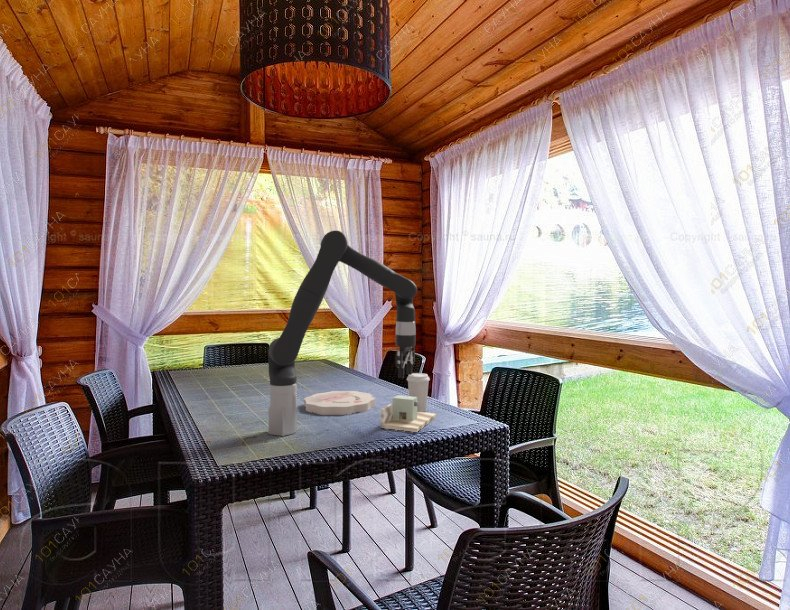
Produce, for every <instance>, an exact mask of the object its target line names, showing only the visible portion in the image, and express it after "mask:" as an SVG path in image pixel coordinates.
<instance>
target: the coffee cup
mask: <svg viewBox="0 0 790 610" xmlns="http://www.w3.org/2000/svg"><path fill="white" fill-rule="evenodd" d="M430 380H431V378H430V376H428V374H427V373H421V372H412V374H411V375H408V376H407V378H406V381H407V385H408V386H407V387H408V396H412V397H417V401H418V406H417V412H424V413H426V412H427V404H428V392H429V381H430ZM425 411H426V412H425Z"/></svg>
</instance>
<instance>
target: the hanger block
mask: <svg viewBox="0 0 790 610" xmlns="http://www.w3.org/2000/svg"><path fill="white" fill-rule="evenodd" d="M392 403H393V419H397V420H399V419H401V418H402V413H403V412H406V421H414V420H415V419H416V418H417V406H418V401H417V397H412V396H409V395H408V396H407V395H399V394H397V395H395V396H394V397H393V398H392Z"/></svg>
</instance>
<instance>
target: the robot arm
mask: <svg viewBox="0 0 790 610" xmlns="http://www.w3.org/2000/svg"><path fill="white" fill-rule="evenodd" d="M348 243H349V241H348V237H347V236H346V235H345V234H344V232H342V231H339V230H331V231H328V232H327V233H325V234H324V236H323V237H322V239H321V242H320V248H319V250H318V253H317V256H316V258H315V261H314V263H313V264H312V266H311V268H310V269H309V271H308V272H307V274H306V275H305V276H304V278H303V280H302V282H301V284H300V286H299V288H298V289H297V291H296V293H295V296H294V298H293V301H292V304H291V307H290V311H289V315H288V320H287V323H286V325H285V327H284V329H283V331H282V333H281V334H280V335H279V337H277V338H275V339H274V340H272V341H271V342H270V344H269V347H268V355H267V356H268V359H267V360H268V362H267V363H268V377H269V407H268V408H267V409H268V435H272V436H273V435H274V436H280V437H284V436H289V435H293V434H296V433H297V432H298V420H297V419H298V418H297V417H298V416H297V415H298V414H297V413H298V412H297V411H298V410H297V409H298V407H297V405H298V402H297V401H298V399H297V398H298V397H297V395H298V393H297V392H298V391H297V390H298V389H297V388H298V387H297V383H298V382H297V381H298V380H297V374H296V366H295V365H296V362H295V361H296V360H297V358H298V355H299V352H300V350H301V346H302V344H303V342H304V341H303V340H304V338H305V335H306V333H307V331H308V329H309V327H310V325H311V324H312V322H313V320H314V318H315V316H316V314H317V312H318V311H319V308H320V306H321V304H322V302H323V300H324V298H325V295H326V293H327V290H328V288H329V284H330V282H331V279H332V276H333V274H334V270H335V269H336V267H337V265H338V264H339V262H340V263H342V264H344V265H346V266H349V267H351V268H352V269H354V270H355V271H357V272H359V273H361V275H364V276H365V277H367V278H369V279H370V280H371V281H373V282H375V283H376V284H378V285H380V286H381V287H384V288H386V289H389V290H390V291H392V292H393V293H394V294H395V295H394V296H395V305H396V322H395V323H396V324H395V346H397V347H399V349H398V350H395V358H394V359H395V360H394V366H395V368H397V378H398V379H404V378H405V374H406V375H408V376H409V375H411V374H412V373H413V365H414V363H415V362H416V352H415V351H416V350H415V349H416V348H415V346H416V345H417V344H416V341H417V340H416V335H417V332H416V331H417V329H416V310H415V307H414V298H415V297H416V296H417V293H418V288H417V285H416V284H415V282H413V281H412V280H411V279H409V278H407V277H405V276H403V275H401V274H399V273H397V272H396V271H394V270H392V269H391V268H390V267H388V266H386V265H385V264H383V263H381V262H380V261H378V260H376V259H373V258H371V257H369V256H366V255H364V254H363V253H361V252H358V251H357V250H355V248H353V247H351V246H350V245H349V244H348Z"/></svg>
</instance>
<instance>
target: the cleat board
mask: <svg viewBox="0 0 790 610" xmlns="http://www.w3.org/2000/svg"><path fill="white" fill-rule="evenodd" d="M435 417H436V418H437V413H435V412H434V413H433V412H417V418H416V419H415V420H414V421H406V412H403V413H402V418H401V419H399V420H397V419H393V402H391V403H390V404H387V405H386V406H384V407H383V408H380V429H381V428H386V429H385V430H388V429H395V430H394V431H397V430H404V431H403V432H405V431H412V432H411V433H413V432H418V431H419V430H420V429H421V430H423V429H424V428H425V427H426V426H427V424H428V423H429V422H430V421H431V422H432V421H434V420H435V419H436V418H435ZM434 418H435V419H434ZM433 419H434V420H433ZM431 422H430V423H431ZM430 423H429V424H430ZM429 424H428V425H429ZM425 425H426V426H425ZM424 426H425V427H424ZM423 427H424V428H423ZM422 428H423V429H422ZM421 430H420V431H421ZM420 431H419V432H420ZM419 432H418V433H419Z"/></svg>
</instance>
